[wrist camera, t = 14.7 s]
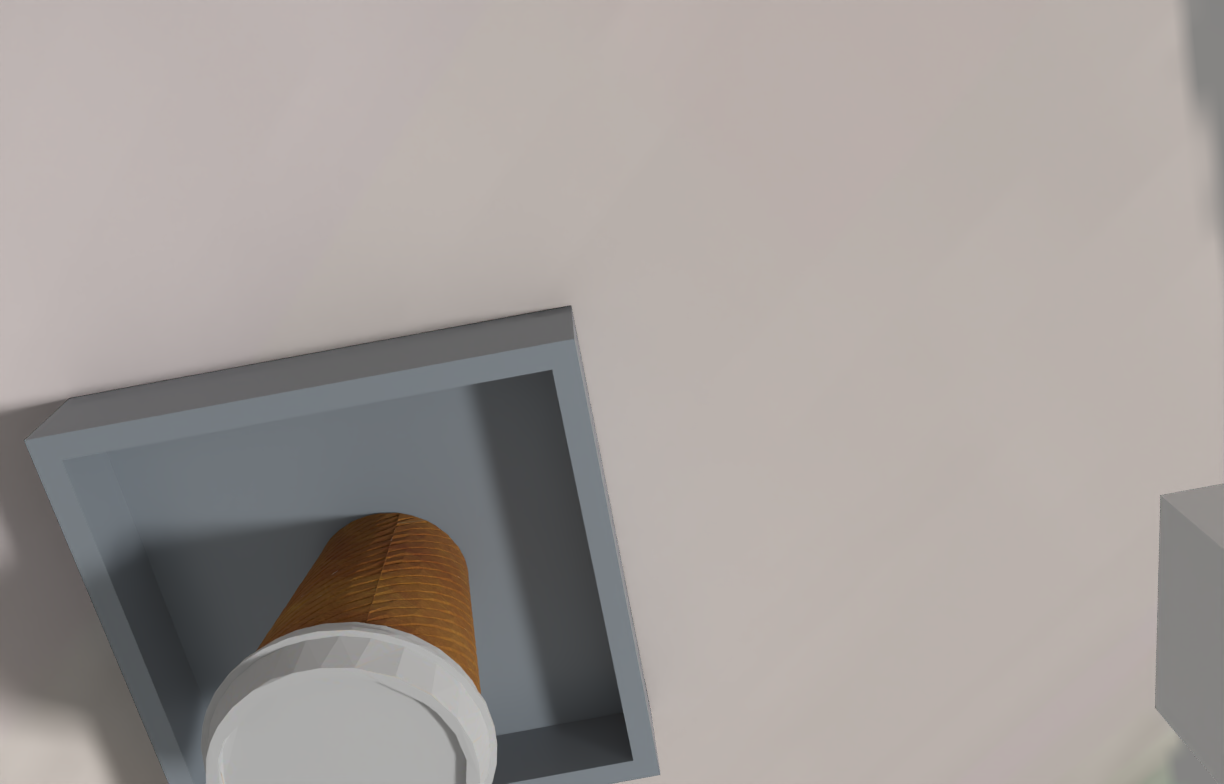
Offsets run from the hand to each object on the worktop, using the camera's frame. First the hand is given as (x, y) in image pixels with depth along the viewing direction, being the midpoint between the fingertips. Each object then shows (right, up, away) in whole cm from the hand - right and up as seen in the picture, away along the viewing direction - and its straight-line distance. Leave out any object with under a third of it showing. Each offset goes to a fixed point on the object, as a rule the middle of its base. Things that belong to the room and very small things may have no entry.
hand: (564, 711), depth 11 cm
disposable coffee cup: (-9, -4, +34) cm, 35 cm away
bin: (-9, -4, +34) cm, 36 cm away
